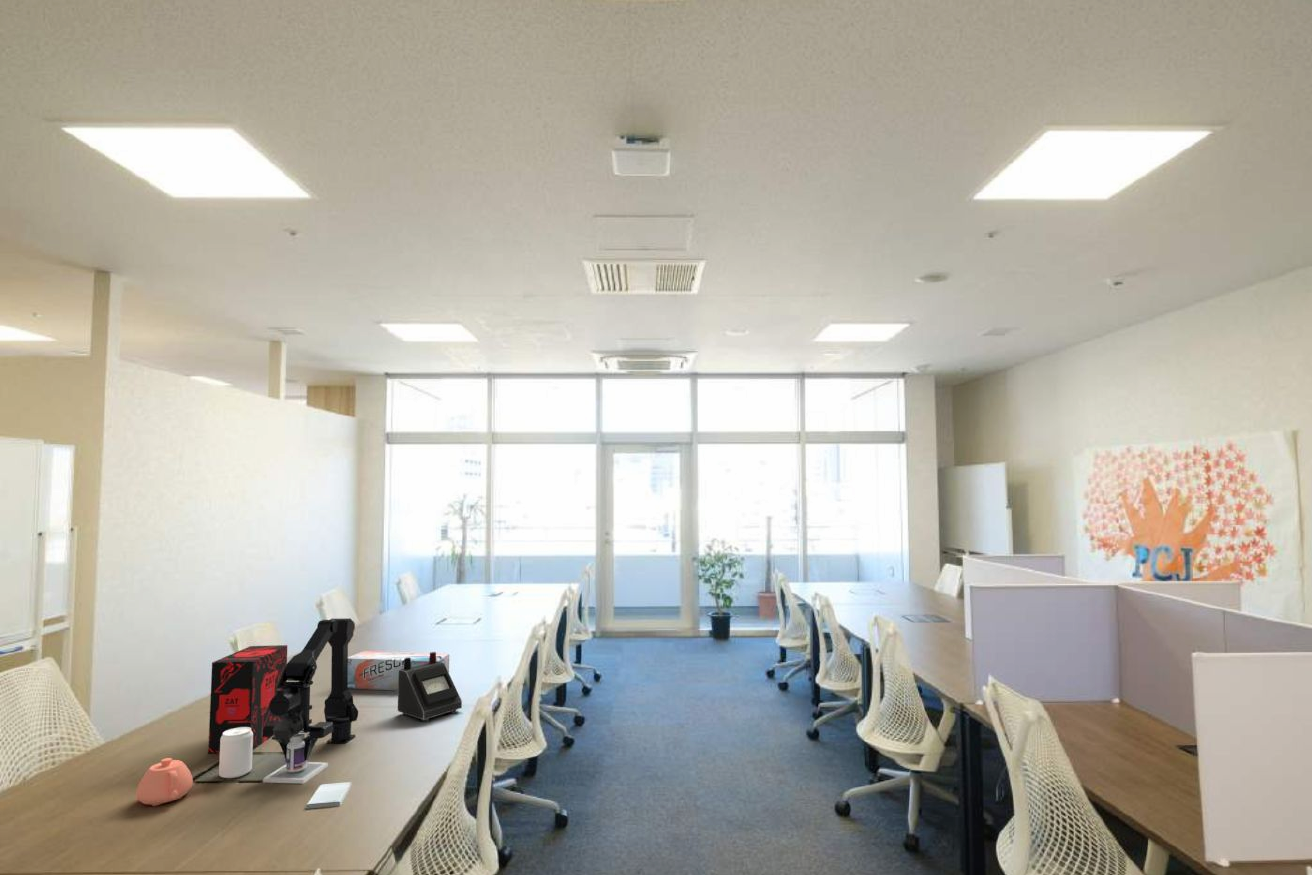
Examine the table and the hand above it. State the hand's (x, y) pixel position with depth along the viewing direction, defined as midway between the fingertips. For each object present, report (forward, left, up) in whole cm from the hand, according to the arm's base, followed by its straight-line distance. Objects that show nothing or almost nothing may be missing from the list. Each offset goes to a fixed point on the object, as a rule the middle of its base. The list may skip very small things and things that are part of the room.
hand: (297, 759), depth 196 cm
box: (-25, -33, -4) cm, 42 cm away
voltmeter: (-55, +16, -4) cm, 57 cm away
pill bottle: (0, 0, -3) cm, 3 cm away
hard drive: (+13, +18, -5) cm, 23 cm away
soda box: (-89, -13, -5) cm, 90 cm away
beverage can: (+1, -18, -4) cm, 19 cm away
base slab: (0, 0, -4) cm, 4 cm away
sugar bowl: (+18, -25, -4) cm, 31 cm away
